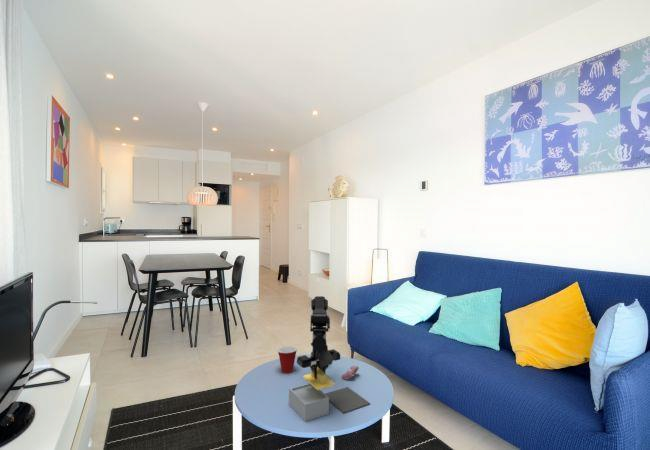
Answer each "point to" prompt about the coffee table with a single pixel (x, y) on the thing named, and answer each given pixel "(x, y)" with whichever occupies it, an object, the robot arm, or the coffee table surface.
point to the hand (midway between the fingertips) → (318, 377)
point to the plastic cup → (287, 358)
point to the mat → (346, 400)
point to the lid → (319, 380)
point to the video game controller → (350, 372)
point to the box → (308, 402)
